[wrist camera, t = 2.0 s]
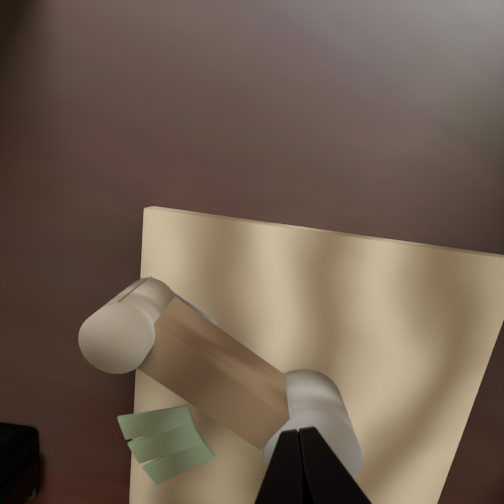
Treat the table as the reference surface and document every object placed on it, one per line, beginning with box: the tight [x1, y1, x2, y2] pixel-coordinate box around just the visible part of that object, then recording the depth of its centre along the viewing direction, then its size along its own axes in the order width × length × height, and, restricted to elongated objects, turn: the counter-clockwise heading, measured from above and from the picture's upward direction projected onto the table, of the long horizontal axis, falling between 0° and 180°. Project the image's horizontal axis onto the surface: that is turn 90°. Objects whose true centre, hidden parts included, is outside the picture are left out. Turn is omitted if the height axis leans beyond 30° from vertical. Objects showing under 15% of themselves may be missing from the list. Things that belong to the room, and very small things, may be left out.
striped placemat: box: [117, 206, 504, 504], centre depth 20 cm, size 23×22×2 cm
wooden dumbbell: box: [78, 277, 362, 479], centre depth 16 cm, size 16×5×5 cm, turn 52°
